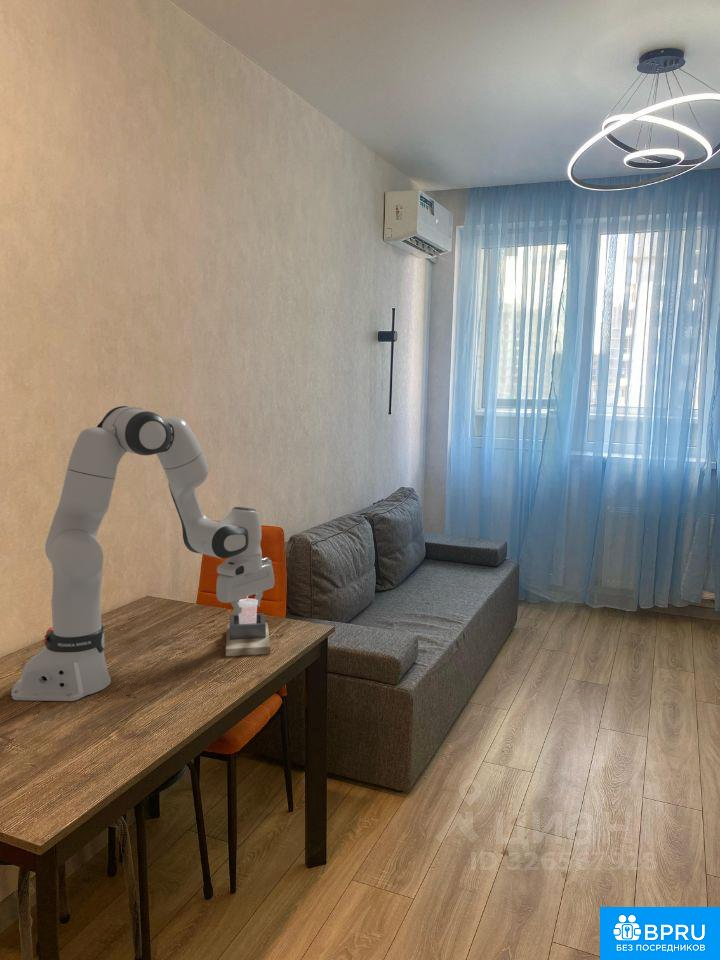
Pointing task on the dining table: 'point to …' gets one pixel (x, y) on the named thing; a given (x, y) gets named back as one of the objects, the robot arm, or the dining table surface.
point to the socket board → (247, 645)
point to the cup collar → (247, 628)
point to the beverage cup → (248, 610)
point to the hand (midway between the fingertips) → (247, 610)
